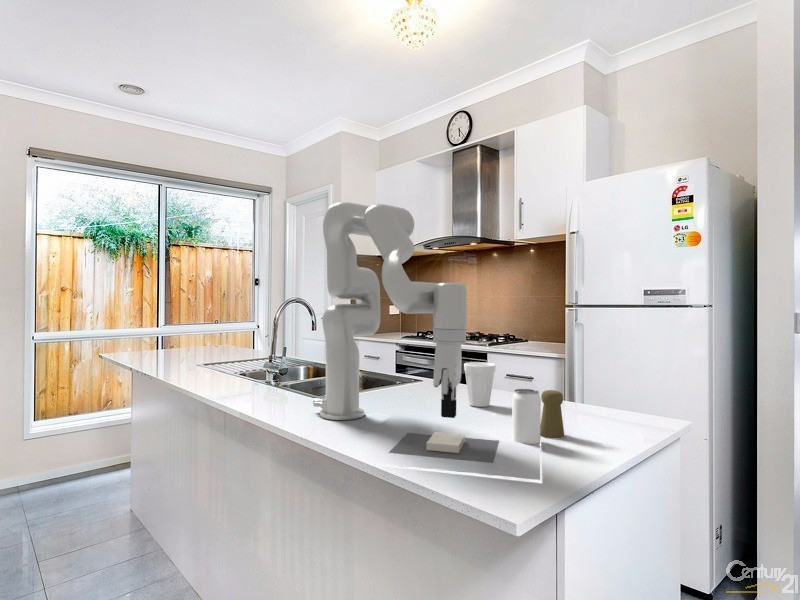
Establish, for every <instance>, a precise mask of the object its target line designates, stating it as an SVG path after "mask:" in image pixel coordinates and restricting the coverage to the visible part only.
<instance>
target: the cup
mask: <svg viewBox="0 0 800 600" xmlns="http://www.w3.org/2000/svg"><path fill="white" fill-rule="evenodd" d="M463 371H464V373H465V381H466V389H467V396H468V397H467V398H468V404H469V406H472V407H479V408H480V407H488V406H490V403H491V397H492V396H491V395H492V390H493V383H494V382H493V381H494V378H495V377H494V376H495V372H496V363H492V362H491V363H490V362H483V361H482V362H480V361H473V362H472V361H471V362H470V361H469V362H465V363H463Z"/></svg>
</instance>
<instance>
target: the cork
mask: <svg viewBox="0 0 800 600" xmlns="http://www.w3.org/2000/svg"><path fill="white" fill-rule="evenodd" d="M540 398H541V403H543V406H542V410H541V412H542V413H541V424H540V437H543V438H547V439H553V438H559V439H563V438H562V437H564V436H565V430H564V421H563V413H562V406H561V405H562V404H563V402H564V395H563V393H562V392H561V391H560V390H559V391H558V390H554V389H553V390H552V389H548V390H544V391H542V393H541V396H540ZM564 438H565V437H564Z"/></svg>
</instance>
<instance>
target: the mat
mask: <svg viewBox="0 0 800 600" xmlns="http://www.w3.org/2000/svg"><path fill="white" fill-rule="evenodd" d="M432 435H433V434H424V433H414V432H407V433H406V434H405V435H404V436H403V437H402V438H401V439H400V440H399V441H398V442H397V443H396V444H395V445H394V446H393V447H392V448H391V449H390V451H388V453H389V454H396V455H398V454H399V455H409V456H419V457H426V458H427V457H428V458H438V459H439V458H440V459H447V460H449V459H450V460H459V461H460V460H461V461H469V462H477V463H491V464H493V463H494V461H495V458H496V453H497V450H498V446H499V443H500V440H497V439H482V438H475V437H474V438H471V437H465V442H464V444H463V446H462V448H461V450H460V452H459V453H451V452H440V451H430V450H427V442H428V440H429V439H430V438H431V436H432Z"/></svg>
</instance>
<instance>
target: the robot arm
mask: <svg viewBox="0 0 800 600" xmlns="http://www.w3.org/2000/svg"><path fill="white" fill-rule="evenodd" d="M414 231H415V220H414V216H413V214H411V213H410V211H409V210H407V209H406V208H403V207H399V206H393V205H390V204H383V203H379V204H378V203H377V204H374V205H371V206H370V205H364V204H360V203H354V202H349V201H348V202H347V201H340V202H336V203H334V204H332V205H330V206H329V207H328V209H327V210H326V212H325V214H324V218H323V221H322V233H323V239H324V243H325V248H326V277H327V278H326V284H327V292H328V294H329V296H330V297H331V298H334V299H337V300H355V303H353V304H352V303H342V304H341V303H339V304H333V305H331V306H329V307H328V308H326V309H325V311H324V312H323V315H322V319H321V320H322V328H323V334H324V341H325V343H324V344H325V398H323V399H321V398H314V399H313V402H312V403H313V407H314V408H315V407H317V408H319V407H320V408H321V410H320V411H319V416H320V417H321V418H323V419H327V420H332V421H333V420H334V421H346V420H347V421H348V420H355V419H359V418H362V417H363V416H365V410H364V409H363V408H361V407H360V350H359V348H358V345H357V343H356V341H355V339H354V338H357V337H358V338H359V337H361V338H362V337H368V336H369V337H370V336H373V335H374V334H376V333H377V332H378V330H379V328H380V324H381V291H380V290H381V286H380V280H379V277H378V275H377V273H376V272H375V271H374V270H372V269H370V268H367V267H361V266H360V267H359V266H358V263H357V249H356V247H355V243H354V242H353V240H352V239H351V237H350V236H349V235H357V236H365V237H366V236H367V237H370V238H371V240H372V241H373V243H374V245H375V246H376V249H377V250H378V251H379V254H380V256H381V258H382V259H383V264H382V268H381V282H382V285H383V288H384V291H385V293H386V294H387V296H388V298H389V299H390V302H391V303H392V304H393V306H394V307H395V308H396V309H397V310H398V311H399V312H401V313H403V314H405V315H406V314H409V315H413V314H417V315H418V314H424V315H426V314H428V315H429V314H432V315H433V316H432V317H433V318H432V319H433V320H432V327H433V328H432V330H433V331H432V344H435V350H434V362H433V363H434V365H433V382H432V383H433V384H432V385H433V387H434V388H438V387H441V389H440V390H441V399H440V401H441V404H440V405H441V407H440V415H441V418H450V419H454V418H456V416H457V386H458V385H460V383H461V380H462V351H463V350H462V345H465V344H467V294H468V293H467V287H466V285H465V284H464V283H462V282H427V281H411V280H410V278H409V276H408V274H407V273H406V271H405V270H404V268H403V267H404V266H403V265H402V264H404V263H405V262H407V261H409V260H410V258H411V257H412V256H413V254H414V253H415V244H414V242H413V241H412V239H411V238H410V237H411V235H412V234H413V233H414Z"/></svg>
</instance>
